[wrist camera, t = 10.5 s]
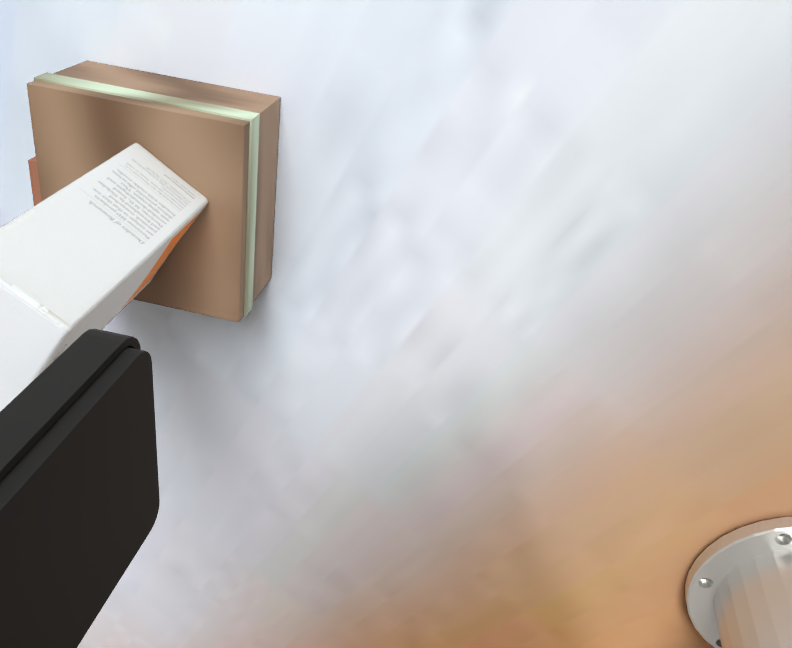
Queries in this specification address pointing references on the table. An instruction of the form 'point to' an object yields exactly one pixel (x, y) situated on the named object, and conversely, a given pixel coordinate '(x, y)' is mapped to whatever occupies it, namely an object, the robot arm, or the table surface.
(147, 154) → the skincare box
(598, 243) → the table surface
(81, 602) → the robot arm
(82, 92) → the gift box
